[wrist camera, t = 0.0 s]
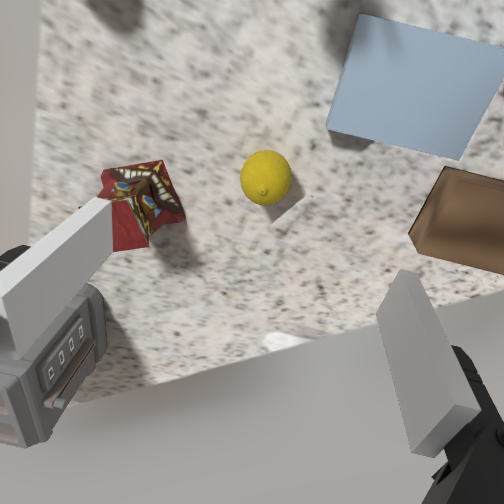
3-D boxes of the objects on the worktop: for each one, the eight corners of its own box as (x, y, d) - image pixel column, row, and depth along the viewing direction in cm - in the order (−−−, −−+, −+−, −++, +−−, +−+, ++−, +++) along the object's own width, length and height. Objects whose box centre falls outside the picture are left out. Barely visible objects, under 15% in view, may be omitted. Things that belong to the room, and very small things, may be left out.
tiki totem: (187, 218, 46) (164, 255, 39) (130, 227, 48) (97, 264, 41) (164, 155, 42) (133, 183, 35) (103, 168, 44) (61, 197, 37)
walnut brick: (443, 164, 39) (460, 180, 35) (546, 190, 39) (575, 210, 35) (407, 232, 44) (418, 253, 40) (498, 255, 44) (519, 278, 40)
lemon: (238, 152, 41) (225, 175, 34) (283, 134, 39) (278, 156, 32) (256, 193, 43) (247, 223, 36) (298, 179, 41) (298, 207, 35)
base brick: (358, 15, 33) (362, 13, 30) (501, 49, 33) (518, 51, 30) (325, 122, 38) (326, 129, 36) (448, 152, 38) (458, 160, 36)
